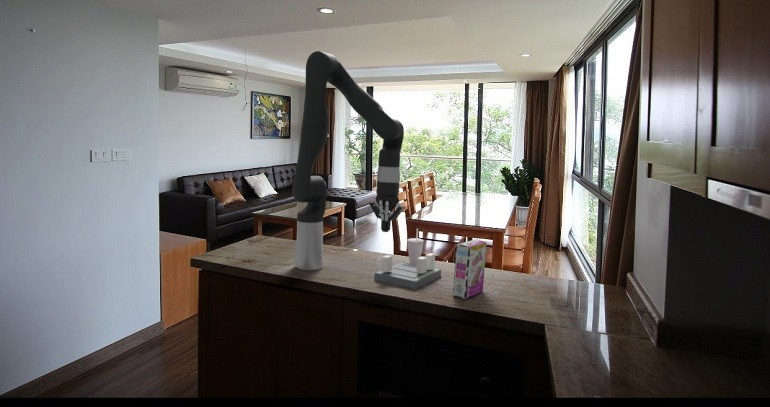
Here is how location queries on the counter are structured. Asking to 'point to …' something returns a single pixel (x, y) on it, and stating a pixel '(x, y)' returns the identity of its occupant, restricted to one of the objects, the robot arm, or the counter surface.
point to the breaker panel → (411, 273)
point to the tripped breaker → (387, 263)
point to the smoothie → (414, 249)
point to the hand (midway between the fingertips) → (385, 231)
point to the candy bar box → (469, 268)
